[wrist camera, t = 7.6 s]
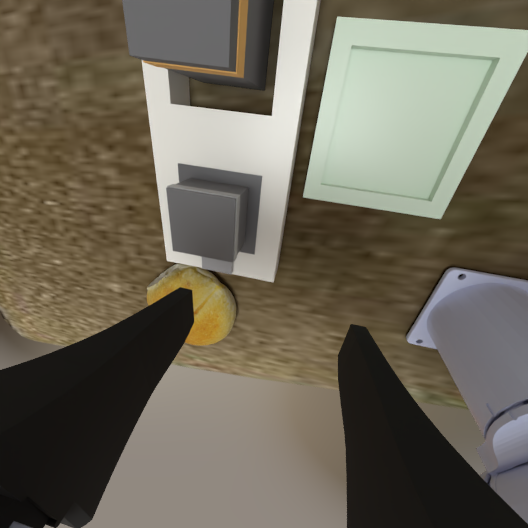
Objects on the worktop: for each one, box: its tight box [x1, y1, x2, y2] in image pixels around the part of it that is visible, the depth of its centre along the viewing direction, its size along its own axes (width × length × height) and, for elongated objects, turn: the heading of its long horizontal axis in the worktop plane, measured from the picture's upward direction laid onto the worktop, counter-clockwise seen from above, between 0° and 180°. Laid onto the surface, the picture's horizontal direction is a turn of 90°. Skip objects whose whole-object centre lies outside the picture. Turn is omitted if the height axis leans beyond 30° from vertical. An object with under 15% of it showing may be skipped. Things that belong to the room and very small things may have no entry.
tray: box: [303, 17, 528, 219], centre depth 14 cm, size 9×9×1 cm
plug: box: [122, 0, 274, 91], centre depth 11 cm, size 4×4×7 cm
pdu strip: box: [142, 0, 321, 282], centre depth 14 cm, size 9×18×6 cm, turn 174°
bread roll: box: [147, 263, 236, 345], centre depth 23 cm, size 8×9×4 cm
